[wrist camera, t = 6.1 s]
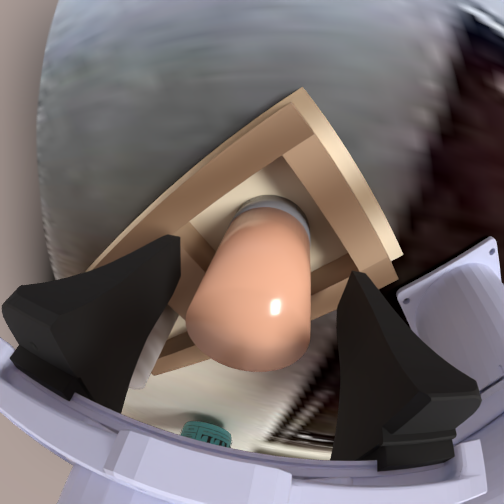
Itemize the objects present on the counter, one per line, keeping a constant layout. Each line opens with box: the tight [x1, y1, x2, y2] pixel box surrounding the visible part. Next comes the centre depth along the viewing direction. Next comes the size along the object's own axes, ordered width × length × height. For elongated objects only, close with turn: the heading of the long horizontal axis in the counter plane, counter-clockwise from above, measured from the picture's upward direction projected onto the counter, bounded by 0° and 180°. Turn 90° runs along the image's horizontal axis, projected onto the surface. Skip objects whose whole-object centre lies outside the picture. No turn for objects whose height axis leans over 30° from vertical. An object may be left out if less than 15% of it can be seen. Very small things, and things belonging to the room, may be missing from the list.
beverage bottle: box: [180, 421, 232, 448], centre depth 23 cm, size 6×7×20 cm
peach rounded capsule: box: [185, 195, 311, 372], centre depth 12 cm, size 4×4×7 cm
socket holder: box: [85, 87, 403, 389], centre depth 15 cm, size 10×21×7 cm, turn 128°
